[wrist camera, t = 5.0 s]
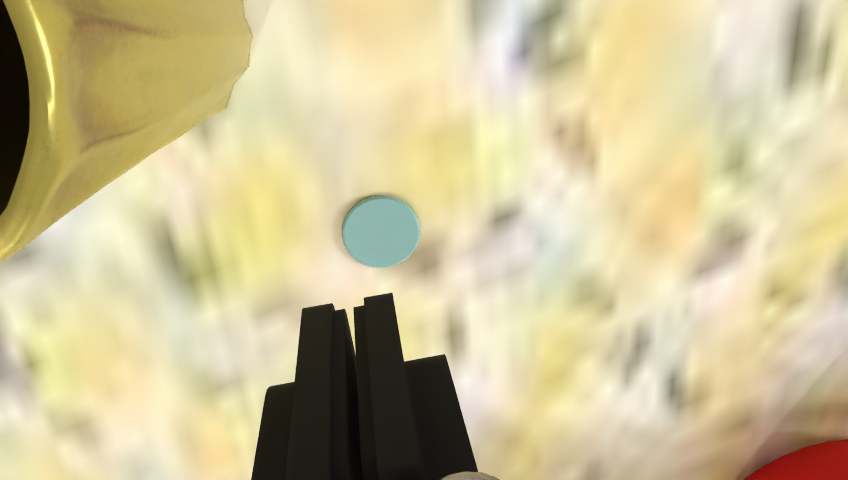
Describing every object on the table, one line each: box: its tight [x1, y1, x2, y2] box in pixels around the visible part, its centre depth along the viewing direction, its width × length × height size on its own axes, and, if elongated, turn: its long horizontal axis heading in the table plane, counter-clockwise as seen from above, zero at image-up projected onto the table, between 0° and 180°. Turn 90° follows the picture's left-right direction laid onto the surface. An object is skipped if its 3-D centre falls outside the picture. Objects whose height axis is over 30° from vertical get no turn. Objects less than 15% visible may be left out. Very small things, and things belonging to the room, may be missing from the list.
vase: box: [0, 0, 253, 262], centre depth 11 cm, size 6×6×14 cm
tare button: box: [342, 196, 420, 268], centre depth 19 cm, size 3×3×1 cm
